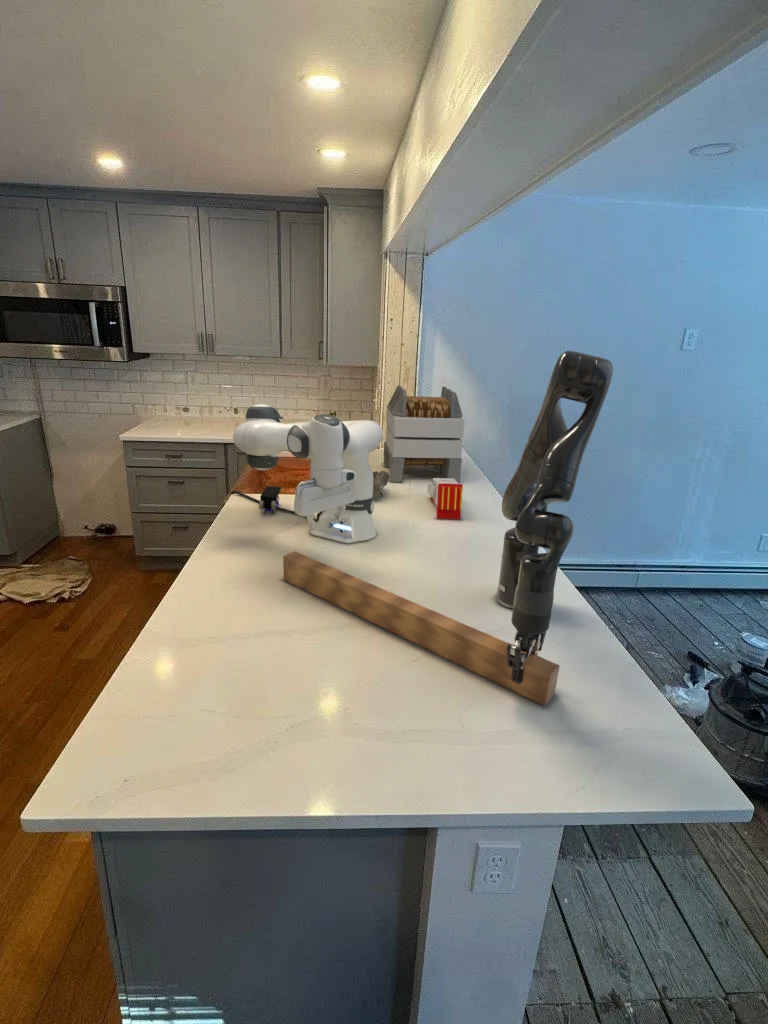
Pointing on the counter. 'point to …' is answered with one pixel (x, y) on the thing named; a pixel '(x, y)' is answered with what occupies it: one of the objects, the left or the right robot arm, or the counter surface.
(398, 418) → the transformer
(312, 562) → the post
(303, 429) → the left robot arm
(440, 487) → the toy
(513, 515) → the right robot arm
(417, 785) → the counter surface
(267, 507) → the figurine character
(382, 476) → the fossil
